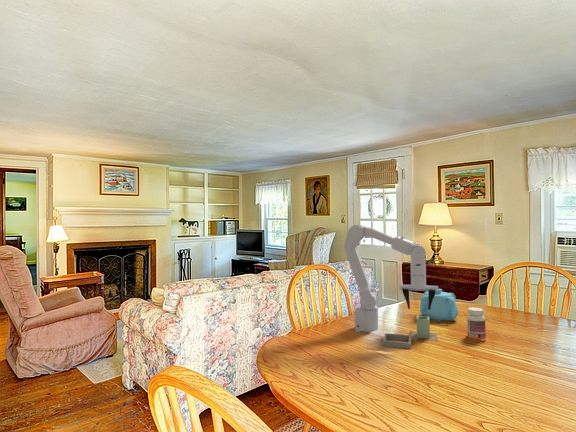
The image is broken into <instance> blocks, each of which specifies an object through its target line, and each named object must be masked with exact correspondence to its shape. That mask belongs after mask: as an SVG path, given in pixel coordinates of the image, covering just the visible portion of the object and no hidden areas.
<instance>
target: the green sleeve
mask: <svg viewBox="0 0 576 432" xmlns="http://www.w3.org/2000/svg"><path fill="white" fill-rule="evenodd" d="M430 320H431V319H430V318H429V317H425V316H423V315H421V316H419V315H417V316H416V332H417V338H428V339H430V333H431V331H430V329H431V328H430V326H431V323H430Z"/></svg>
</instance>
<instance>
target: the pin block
mask: <svg viewBox="0 0 576 432" xmlns="http://www.w3.org/2000/svg"><path fill="white" fill-rule="evenodd" d="M409 335H411V341H415V340H416V341H425V342H437V343H438V342H439V340H438V339H439V337H438V334H437V333H435V332H430V339H428V338H417V331H409Z"/></svg>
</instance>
